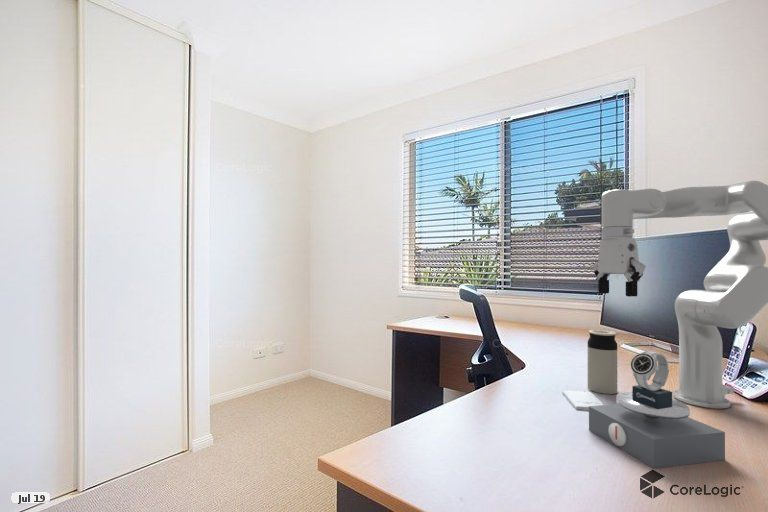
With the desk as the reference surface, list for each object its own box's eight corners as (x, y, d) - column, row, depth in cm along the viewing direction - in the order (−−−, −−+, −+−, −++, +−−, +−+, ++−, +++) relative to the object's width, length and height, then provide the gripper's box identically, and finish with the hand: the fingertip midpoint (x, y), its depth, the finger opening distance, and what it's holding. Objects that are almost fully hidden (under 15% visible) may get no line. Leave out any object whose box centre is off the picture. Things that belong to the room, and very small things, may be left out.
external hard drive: (591, 397, 112) (608, 414, 100) (562, 395, 114) (575, 411, 102) (591, 392, 112) (608, 407, 100) (562, 390, 114) (575, 405, 102)
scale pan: (649, 403, 90) (649, 390, 90) (706, 426, 78) (706, 411, 78) (602, 406, 88) (602, 393, 88) (653, 431, 75) (653, 416, 75)
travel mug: (589, 392, 115) (589, 332, 115) (586, 384, 122) (586, 328, 123) (619, 396, 112) (619, 335, 112) (614, 388, 119) (614, 330, 120)
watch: (626, 401, 83) (625, 350, 83) (651, 397, 86) (651, 348, 86) (652, 410, 78) (651, 356, 78) (678, 405, 81) (678, 353, 81)
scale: (649, 424, 93) (649, 401, 93) (725, 459, 76) (724, 432, 76) (586, 430, 89) (586, 406, 89) (651, 468, 72) (651, 439, 72)
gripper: (655, 232, 100) (655, 297, 99) (604, 236, 116) (604, 292, 116) (631, 231, 98) (631, 297, 98) (583, 235, 115) (583, 292, 115)
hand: (617, 294), depth 107 cm, fingers open, 9 cm apart
